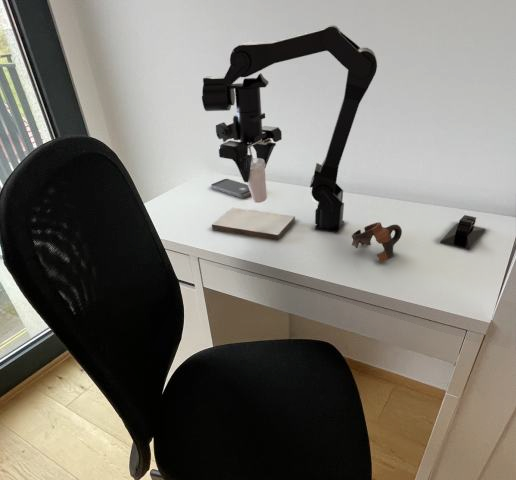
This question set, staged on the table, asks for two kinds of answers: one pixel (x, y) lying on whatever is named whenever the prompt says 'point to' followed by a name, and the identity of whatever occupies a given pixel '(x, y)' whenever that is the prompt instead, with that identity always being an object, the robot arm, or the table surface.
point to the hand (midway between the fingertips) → (253, 177)
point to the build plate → (463, 233)
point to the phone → (232, 188)
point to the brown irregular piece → (378, 238)
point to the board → (254, 223)
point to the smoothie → (257, 179)
